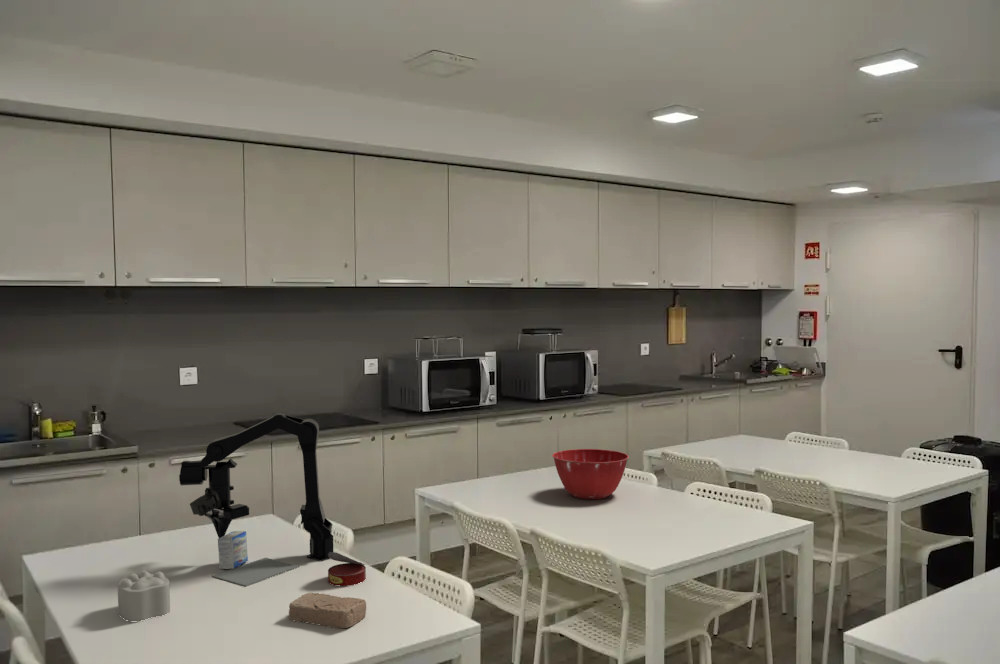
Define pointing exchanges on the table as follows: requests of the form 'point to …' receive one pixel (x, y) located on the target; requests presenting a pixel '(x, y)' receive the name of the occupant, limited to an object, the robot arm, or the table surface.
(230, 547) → the medicine box
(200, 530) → the table surface
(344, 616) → the brick
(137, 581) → the lumpy-topped squat cylinder
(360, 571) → the canned food
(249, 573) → the mat
